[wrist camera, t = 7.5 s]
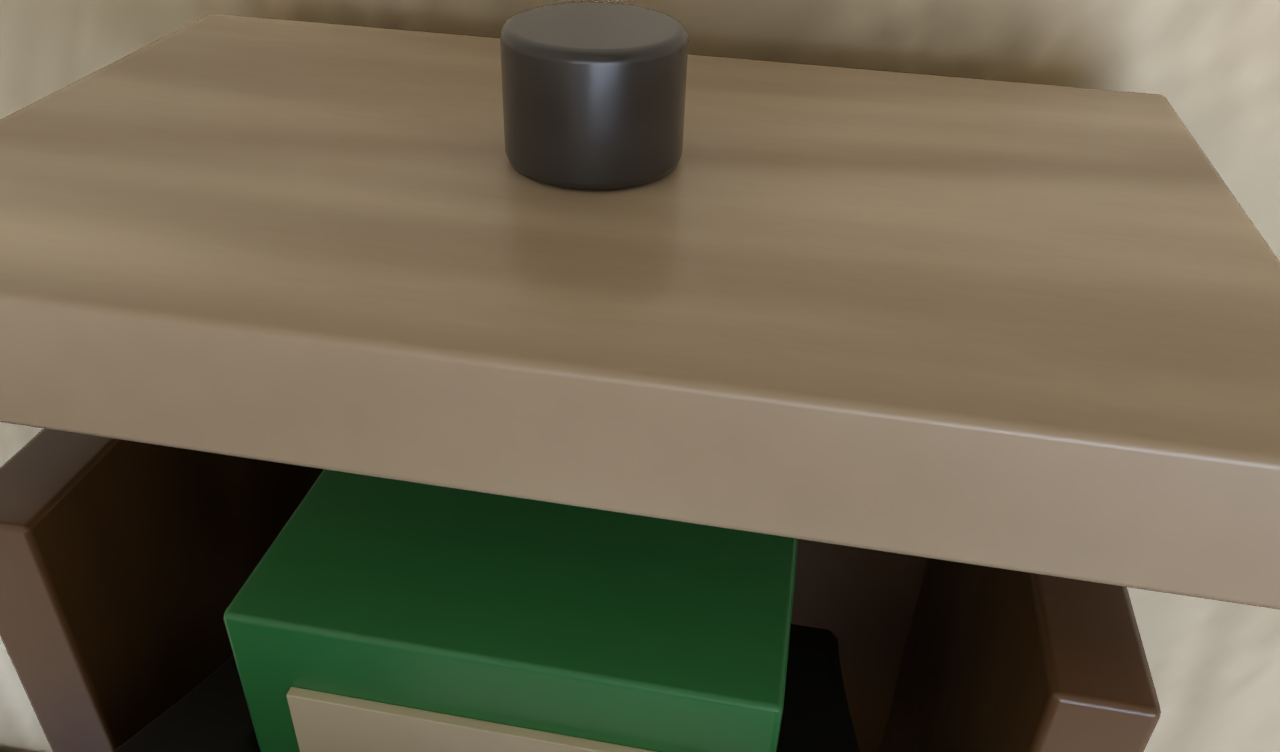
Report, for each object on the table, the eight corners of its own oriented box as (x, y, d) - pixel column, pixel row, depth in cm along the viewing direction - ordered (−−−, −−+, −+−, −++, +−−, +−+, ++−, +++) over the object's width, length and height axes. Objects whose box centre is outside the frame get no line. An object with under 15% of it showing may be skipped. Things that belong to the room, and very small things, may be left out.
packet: (455, 697, 16) (325, 1015, 12) (417, 332, 12) (213, 623, 8) (758, 751, 15) (719, 1102, 11) (812, 382, 12) (782, 720, 8)
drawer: (187, -93, 12) (-371, 94, 7) (1202, -20, 11) (1547, 296, 5) (339, 678, 20) (135, 1061, 14) (947, 784, 19) (978, 1258, 13)
